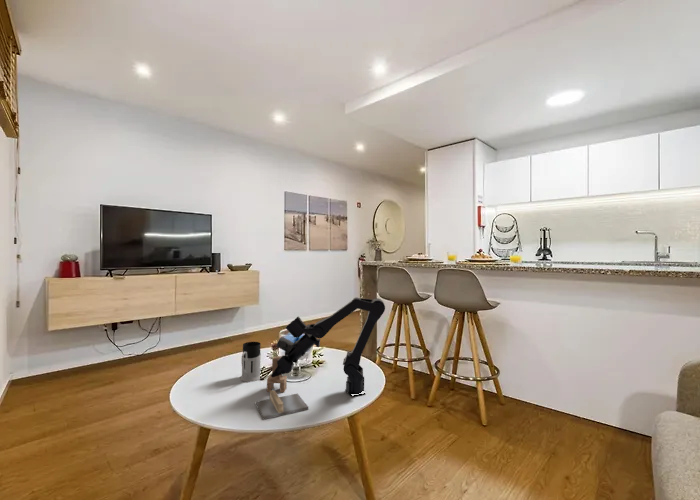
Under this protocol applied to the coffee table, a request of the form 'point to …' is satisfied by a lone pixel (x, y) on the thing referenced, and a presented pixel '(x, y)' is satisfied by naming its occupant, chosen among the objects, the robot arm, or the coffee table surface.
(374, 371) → the coffee table surface
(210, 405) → the coffee table surface
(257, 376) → the glass holder
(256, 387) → the coffee table surface
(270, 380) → the wooden block
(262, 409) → the cross plate base
